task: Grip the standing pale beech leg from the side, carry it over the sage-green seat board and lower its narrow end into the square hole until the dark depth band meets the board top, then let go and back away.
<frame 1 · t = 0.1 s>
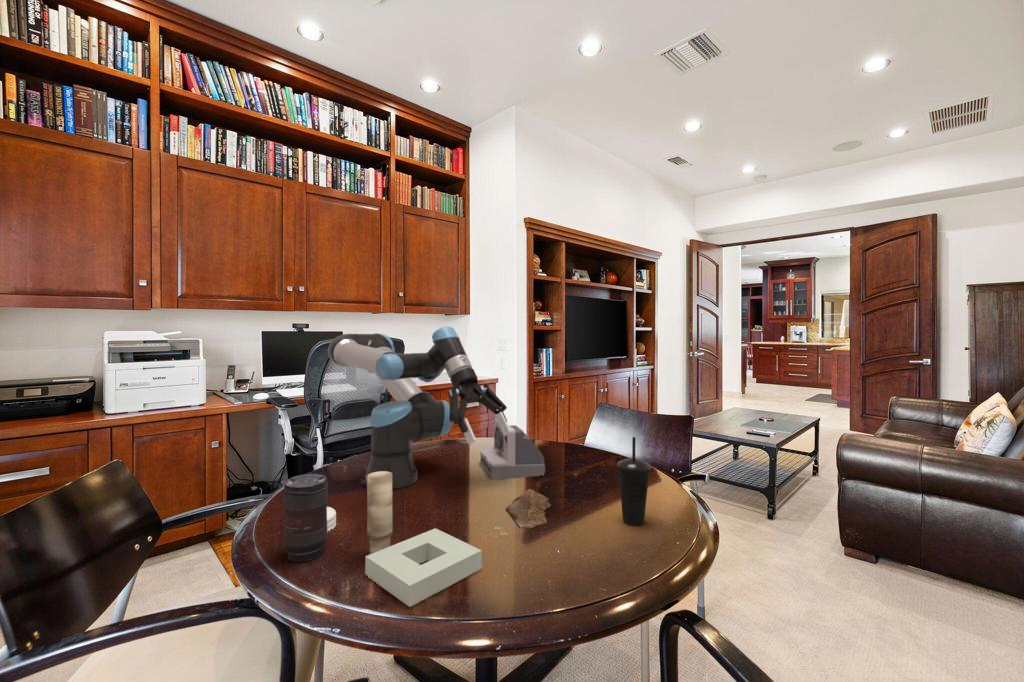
hand: (490, 438, 123), 15 cm above the table, tool tilted 35°, fingers open, 13 cm apart
board: (424, 571, 82), on the table
coaster: (312, 530, 101), on the table
leg: (380, 554, 89), on the table
drinking cup: (633, 522, 105), on the table
wooden fragment: (528, 508, 114), on the table
instant camera: (512, 470, 146), on the table
camera lens: (306, 554, 89), on the table
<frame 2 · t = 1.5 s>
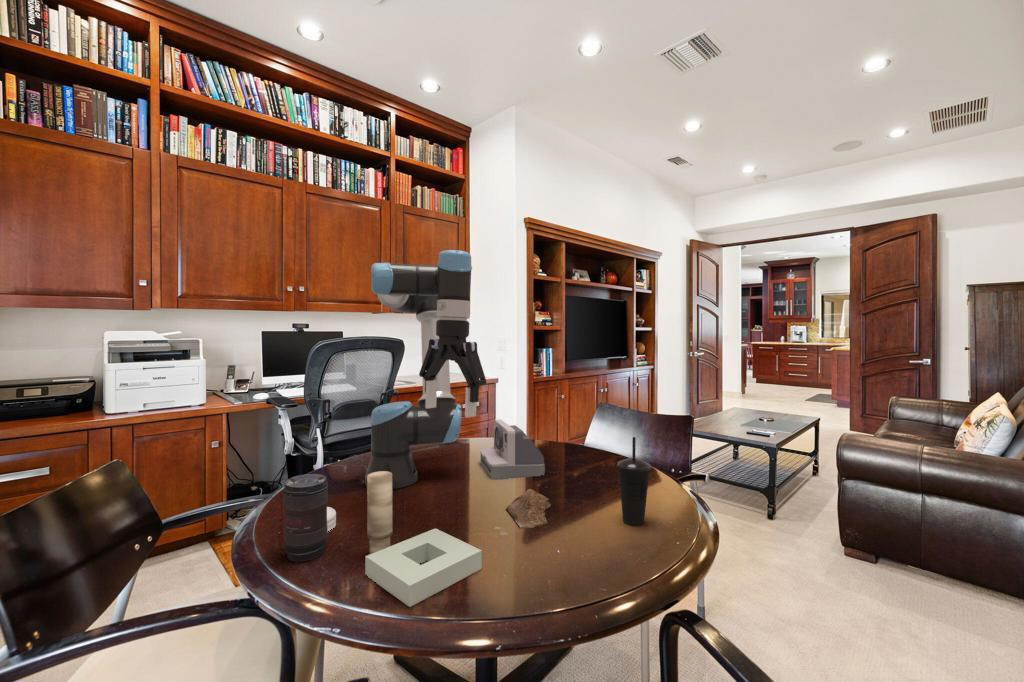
hand: (449, 412, 102), 26 cm above the table, tool pointing down, fingers open, 13 cm apart
nothing on the table moved.
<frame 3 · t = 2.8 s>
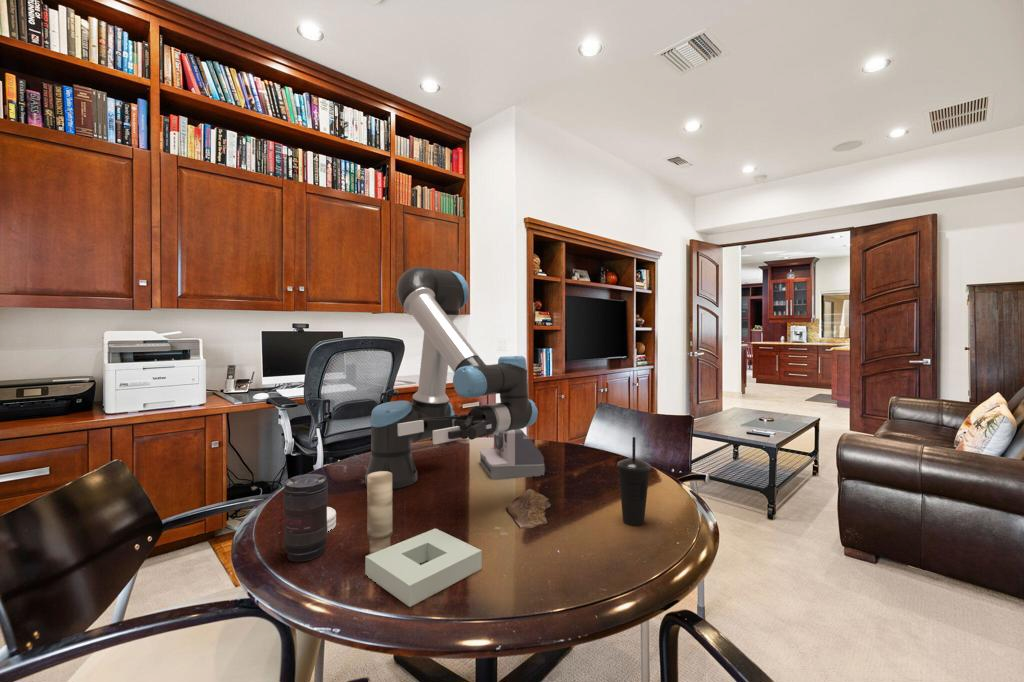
hand: (415, 433, 96), 23 cm above the table, tool horizontal, fingers open, 13 cm apart
nothing on the table moved.
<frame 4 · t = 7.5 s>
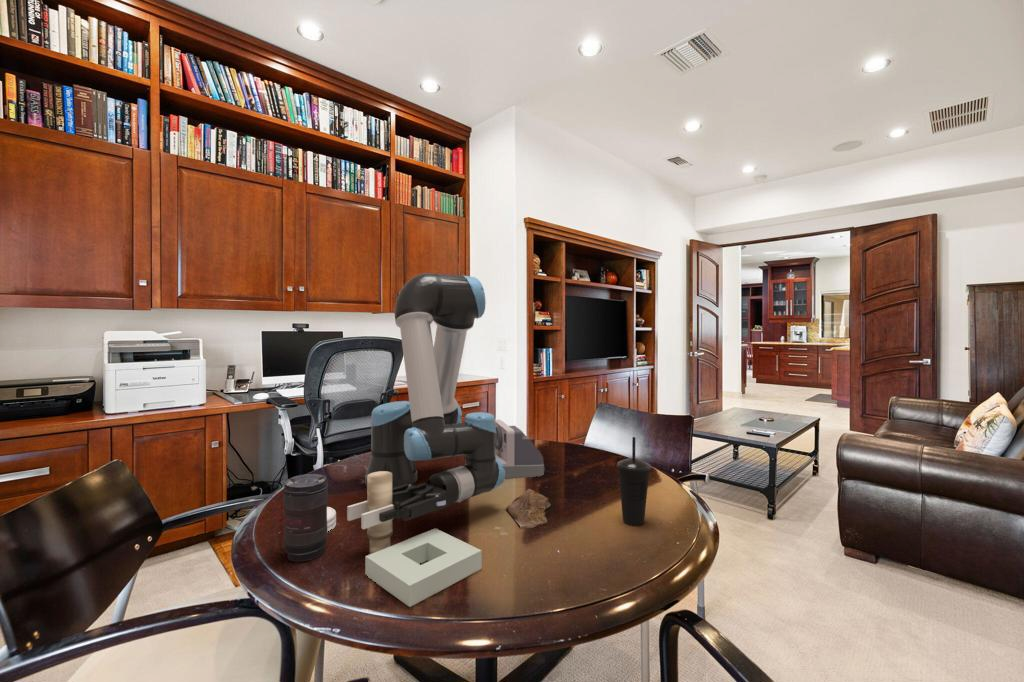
hand: (355, 517, 85), 9 cm above the table, tool horizontal, fingers closed on leg, 5 cm apart
leg: (380, 554, 89), on the table, touching gripper
everything else where it was.
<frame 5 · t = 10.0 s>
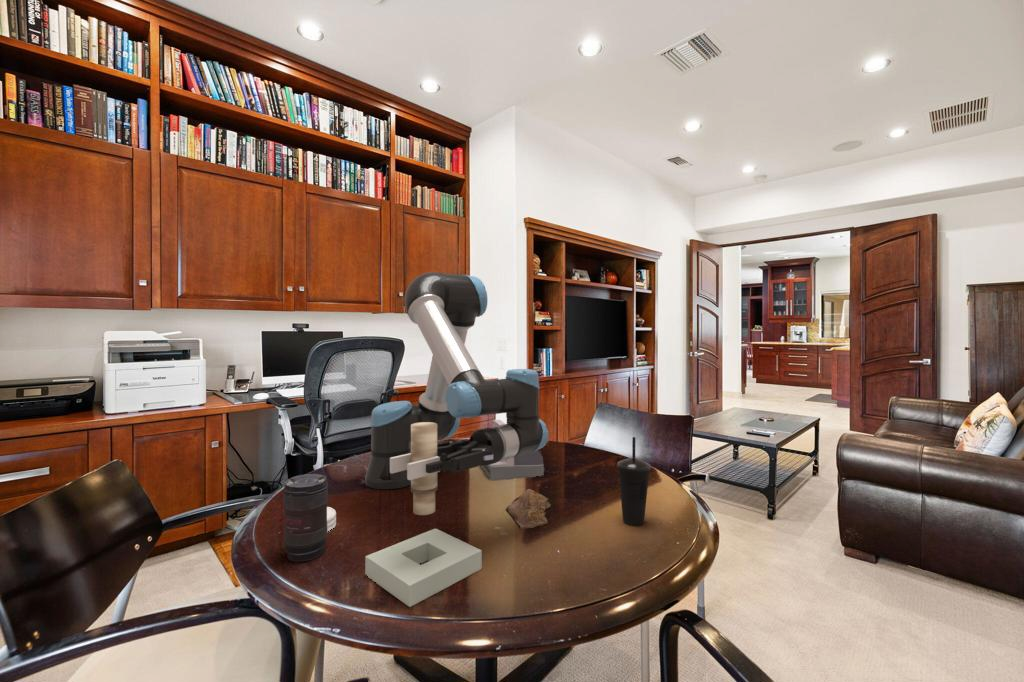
hand: (399, 468, 78), 20 cm above the table, tool horizontal, fingers closed on leg, 5 cm apart
leg: (424, 510, 82), point 11 cm above the table, touching gripper
everything else where it was.
when the fingers open (10 cm above the table, at t = 12.4 s): leg drops 1 cm, resting in board.
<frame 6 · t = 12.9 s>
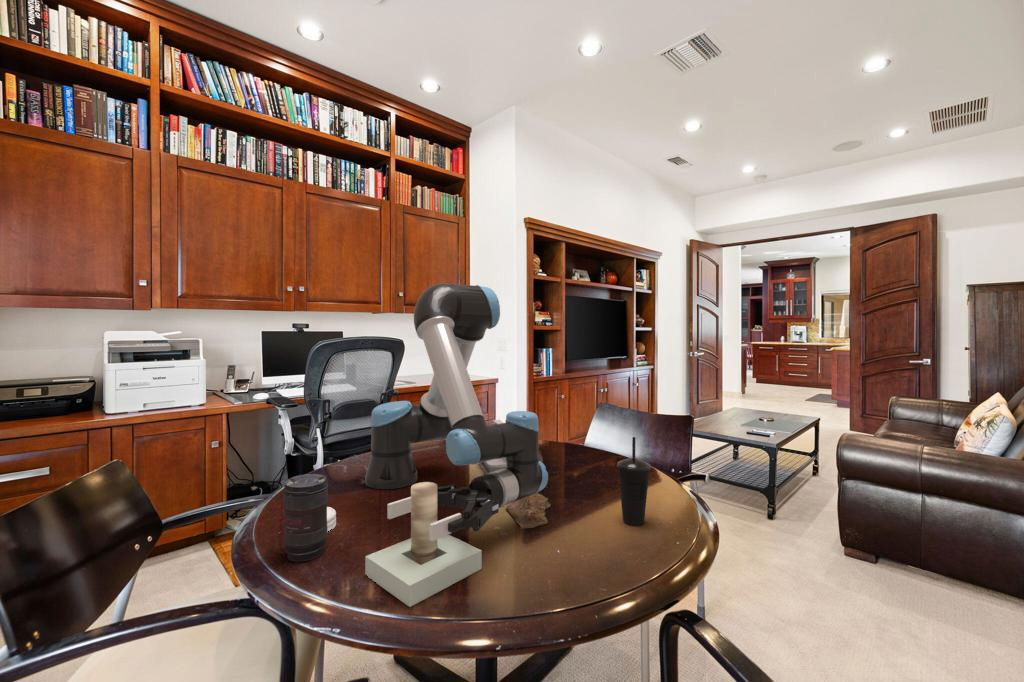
hand: (408, 521, 80), 10 cm above the table, tool horizontal, fingers open, 12 cm apart
leg: (424, 572, 82), resting in board
everything else where it was.
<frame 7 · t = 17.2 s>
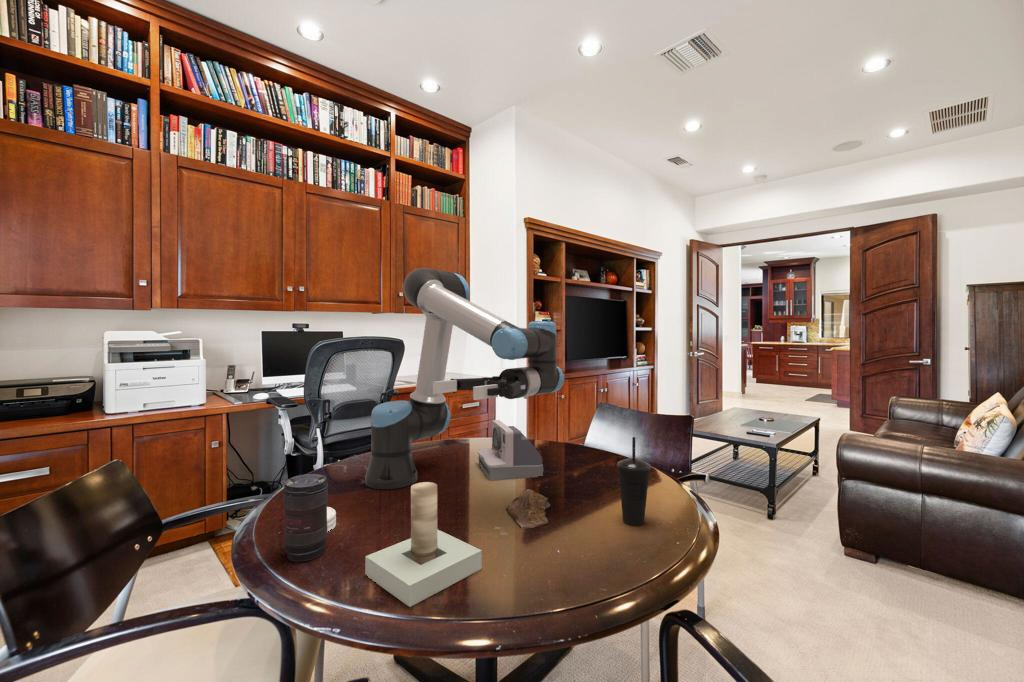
hand: (452, 390, 96), 32 cm above the table, tool horizontal, fingers open, 13 cm apart
at the end: leg 0.0 cm off-centre on the board, point 0.0 cm above the board's base; leg tilted 0°; the gripper is holding nothing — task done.
